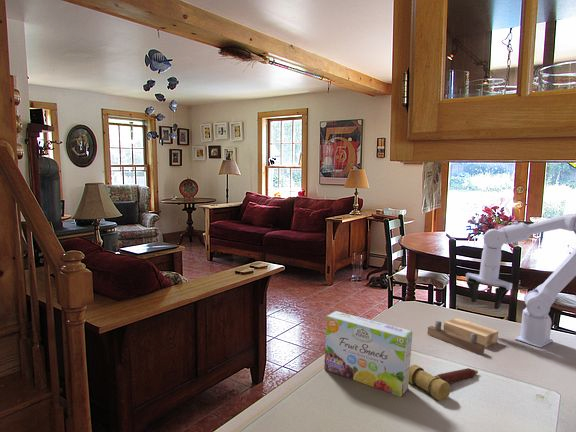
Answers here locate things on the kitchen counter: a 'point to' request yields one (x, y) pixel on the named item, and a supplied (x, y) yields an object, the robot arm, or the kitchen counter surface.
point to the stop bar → (456, 339)
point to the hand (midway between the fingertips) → (485, 304)
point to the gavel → (438, 380)
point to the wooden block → (471, 331)
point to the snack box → (368, 352)
